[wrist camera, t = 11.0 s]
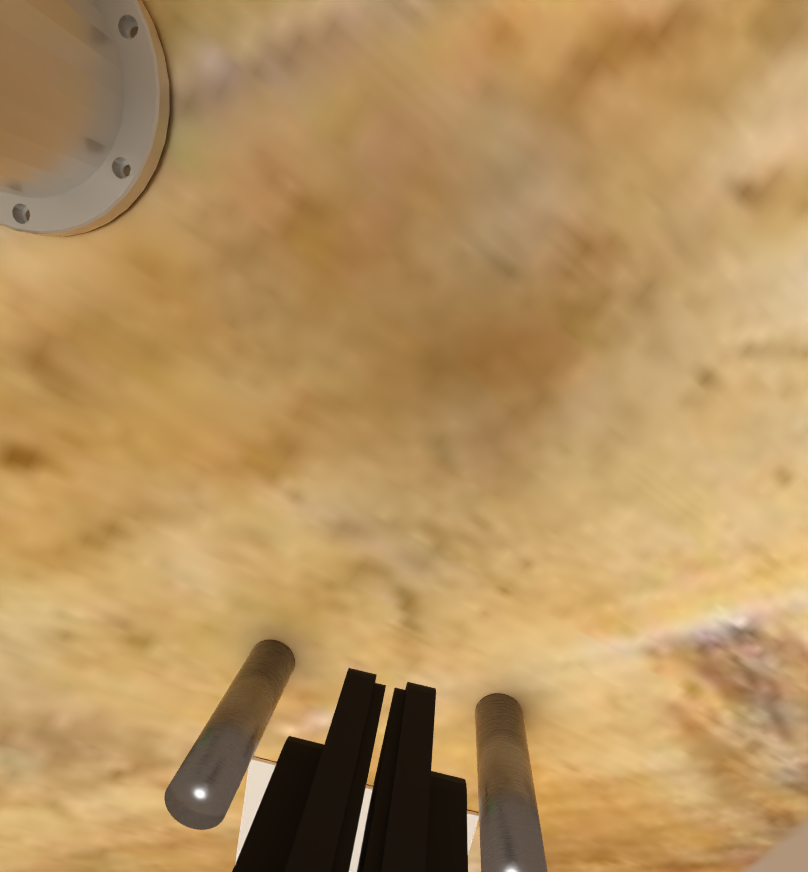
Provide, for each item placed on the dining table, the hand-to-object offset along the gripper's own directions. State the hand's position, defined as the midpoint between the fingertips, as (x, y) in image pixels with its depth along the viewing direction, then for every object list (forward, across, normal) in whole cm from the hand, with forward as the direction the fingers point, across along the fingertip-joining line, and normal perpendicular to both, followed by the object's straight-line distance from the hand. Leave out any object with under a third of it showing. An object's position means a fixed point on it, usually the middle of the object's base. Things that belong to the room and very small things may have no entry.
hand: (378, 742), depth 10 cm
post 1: (+17, +7, +13) cm, 22 cm away
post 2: (+17, -7, +13) cm, 22 cm away
